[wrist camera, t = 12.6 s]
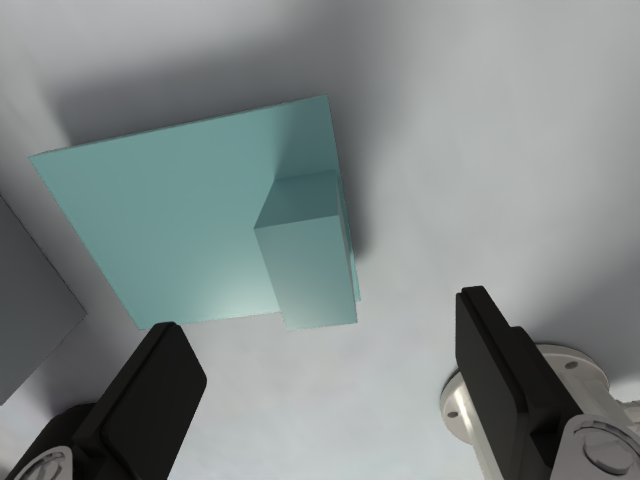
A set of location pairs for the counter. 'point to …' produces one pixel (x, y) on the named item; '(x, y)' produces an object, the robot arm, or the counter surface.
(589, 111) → the counter surface
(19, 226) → the tub
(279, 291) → the teal platform with post
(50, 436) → the coffee jar
